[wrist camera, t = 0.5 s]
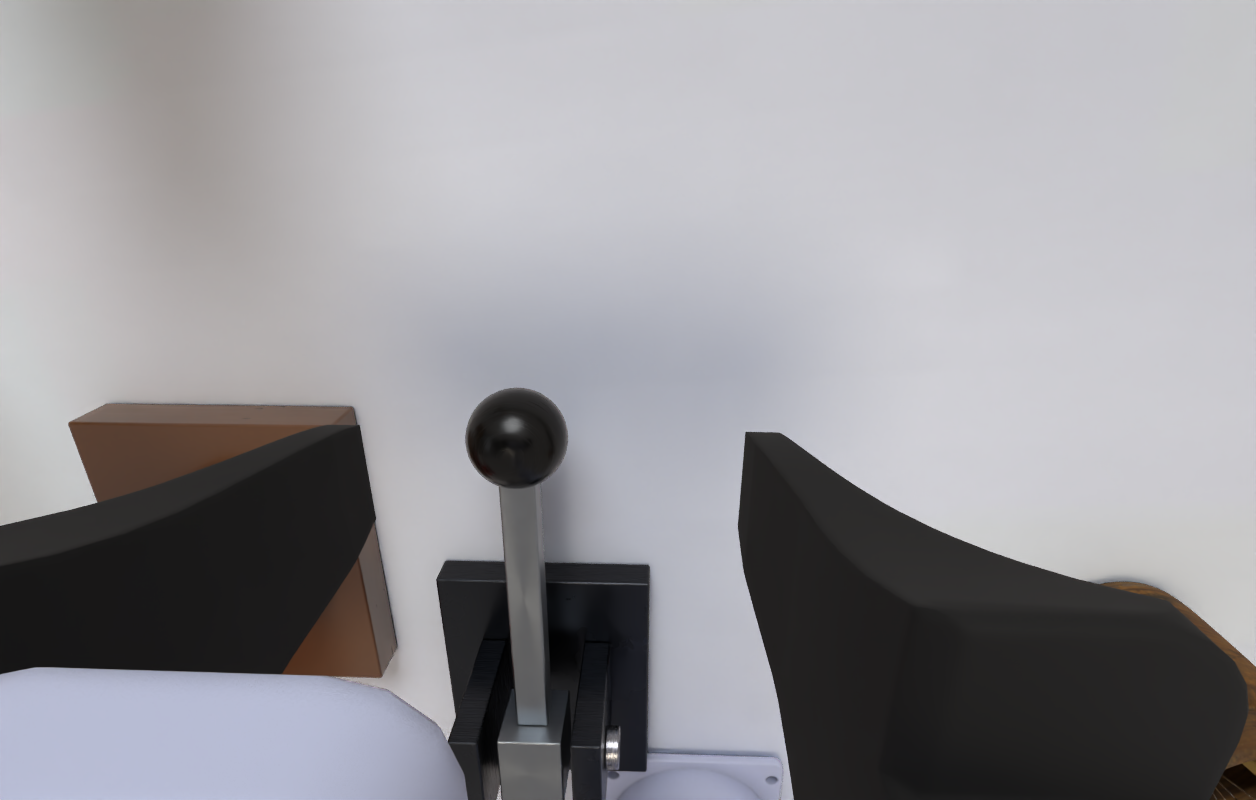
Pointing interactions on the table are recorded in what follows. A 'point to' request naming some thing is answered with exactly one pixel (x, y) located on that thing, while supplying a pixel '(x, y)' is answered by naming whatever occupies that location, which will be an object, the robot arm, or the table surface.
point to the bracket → (551, 666)
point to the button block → (208, 434)
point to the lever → (525, 585)
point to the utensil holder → (1252, 782)
